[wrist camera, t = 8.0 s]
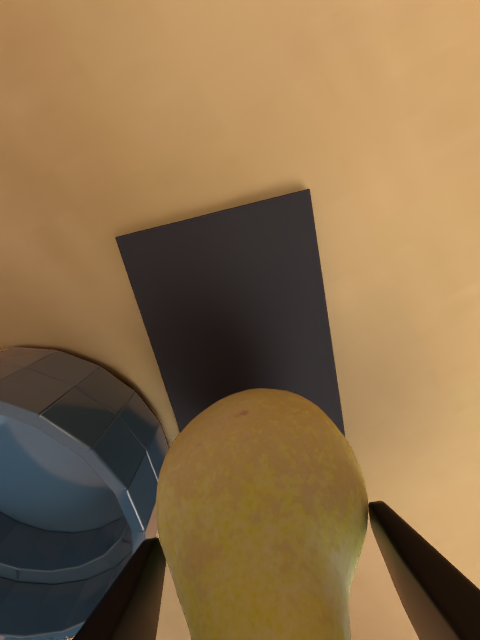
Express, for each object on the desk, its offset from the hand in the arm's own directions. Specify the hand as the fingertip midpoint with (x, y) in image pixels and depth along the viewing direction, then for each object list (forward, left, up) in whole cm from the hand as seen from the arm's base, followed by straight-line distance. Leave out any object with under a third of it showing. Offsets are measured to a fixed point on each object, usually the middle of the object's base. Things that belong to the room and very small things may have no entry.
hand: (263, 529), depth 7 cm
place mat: (0, 0, -7) cm, 7 cm away
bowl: (-1, +12, -7) cm, 14 cm away
